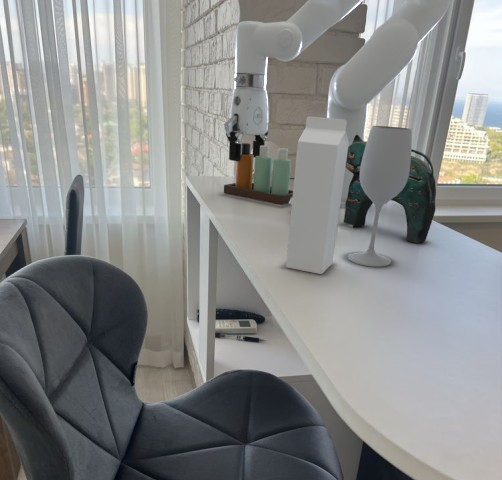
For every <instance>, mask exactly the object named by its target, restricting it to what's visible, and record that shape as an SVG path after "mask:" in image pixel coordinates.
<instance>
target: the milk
mask: <svg viewBox="0 0 502 480" xmlns="http://www.w3.org/2000/svg"><path fill="white" fill-rule="evenodd" d="M346 125H347V121H346V120H345V119H334V118H327V117H320V116H309V115H308V116H307V117H306V121H305V128H304V129H303V132H302V133H301V134H300V137H299V138H298V140H297V146H296V147H297V148H296V157H295V169H294V178H293V179H294V180H293V190H292V191H293V199H292V205H291V210H290V221H289V230H288V239H287V240H288V243H287V250H286V252H287V253H286V261H285V267H286V268H287V269H293V270H298V271H304V272H308V273H313V274H317V275H323V273H325V271H327V270H328V269H329V268H330V267H331V266H332V265H333V260H334V253H335V245H336V238H337V231H338V225H339V216H340V210H341V205H340V203H341V196H342V188H343V181H344V174H345V167H346V160H347V152H348V145H349V141H348V138H347V134H346Z"/></svg>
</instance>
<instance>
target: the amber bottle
mask: <svg viewBox="0 0 502 480" xmlns="http://www.w3.org/2000/svg"><path fill="white" fill-rule="evenodd" d="M240 144H241V161H236V166H235V167H236V168H235V183H236V187H241V188H246V189H251V190H252V183H253V177H254V174H253V173H254V160H255V158H254V155H253V153H251V143H249V142H242V143H241V142H240Z"/></svg>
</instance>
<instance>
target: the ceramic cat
mask: <svg viewBox="0 0 502 480" xmlns="http://www.w3.org/2000/svg"><path fill="white" fill-rule="evenodd" d="M366 143H367V141H365V140H364V141H363V140H362V139H361V138H360V137H359V136H358V135H356V136H355V138H354V140H353V143H352V144H351V145H350V146H349V147H348V152H347V160H346V168H347V169H348V170H349V171H350V172H352V173H353V174H354V175H353V178H352V180H351V182H350V185H349V190H348V197H347V200H346V203H345V205H344V206H345V207H344V216H343V223H344V224H346V225H347V224H348V225H352V228H360V227H364V226H365V224H366V219H367V215H368V211H369V210H370V209H371V206H372V205H374V203H373V202H372V201H371V200H370V198H369V197H368V196H367V195H366V193H365V192H364V190H363V188H362V187H361V183H360V179H359V178H360V167H361V162H362V158H363V154H364V150H365V147H366ZM411 153H415V154H417V155H419V156H421V157H422V158H424V159H425V160H426V162H427V163H428V164H427V163H426V162H425V161H424V160H423V159H421V158H418V157H417V156H415V155H411V162H410V171H409V176H408V180H407V183H406V185H405V187H404V188H403V190H402V191H401V192H400V193H399V194H398V195H397V196H395V197H394V198H393V199H391V200H390V201H392V202H395V203H397V204H399V205H400V206H401V207H403V210H404V213H405V220H406V221H405V222H406V241H407V242H409V243H413V244H421V243H423V242H426V240H427V237H428V234H429V232H430V229H431V226H432V222H433V220H434V216H435V213H436V197H437V186H436V185H437V184H436V179H435V178H436V177H435V175H434V174H435V173H434V166H433V163H432V161H431V159H430V158H429V156H428V155H426V154H425V153H423V152H421V151H419V150H416V149H412V148H411Z"/></svg>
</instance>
